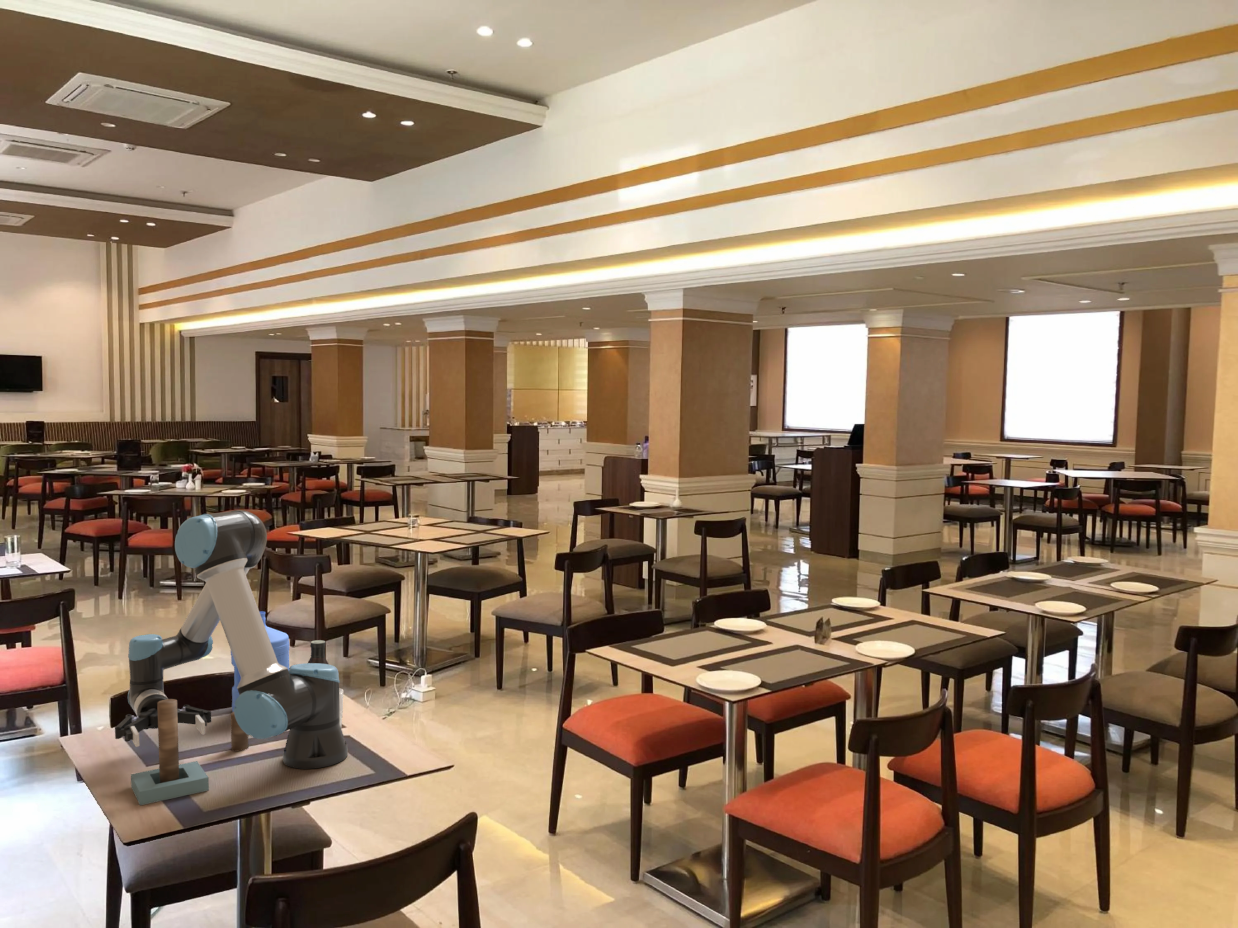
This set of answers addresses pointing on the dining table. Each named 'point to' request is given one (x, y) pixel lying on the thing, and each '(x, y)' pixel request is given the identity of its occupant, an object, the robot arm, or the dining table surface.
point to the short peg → (237, 736)
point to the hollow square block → (169, 784)
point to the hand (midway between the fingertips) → (171, 734)
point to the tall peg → (168, 740)
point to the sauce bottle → (318, 652)
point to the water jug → (280, 649)
